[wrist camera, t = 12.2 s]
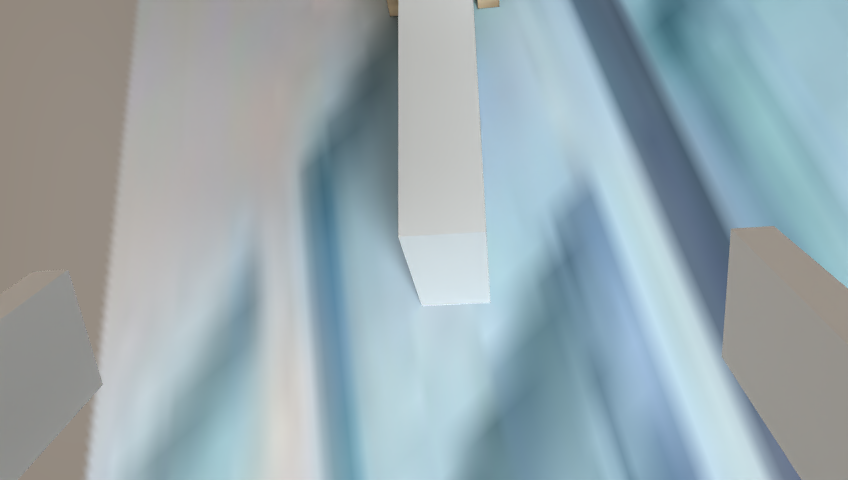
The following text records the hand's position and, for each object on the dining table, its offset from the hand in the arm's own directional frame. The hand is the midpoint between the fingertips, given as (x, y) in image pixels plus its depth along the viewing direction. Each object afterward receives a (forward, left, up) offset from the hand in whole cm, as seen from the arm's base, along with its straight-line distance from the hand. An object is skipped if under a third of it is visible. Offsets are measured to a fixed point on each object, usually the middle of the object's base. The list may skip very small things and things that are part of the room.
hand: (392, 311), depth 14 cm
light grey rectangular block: (0, -18, -25) cm, 31 cm away
